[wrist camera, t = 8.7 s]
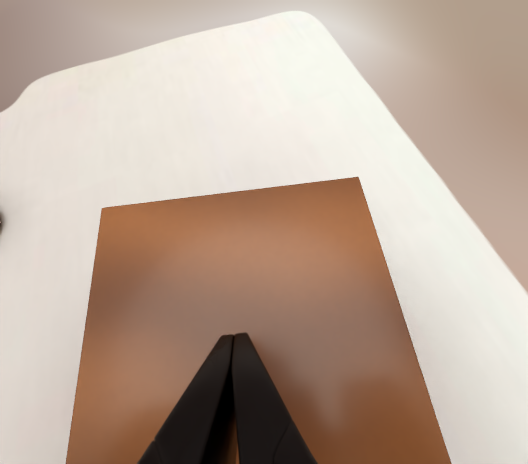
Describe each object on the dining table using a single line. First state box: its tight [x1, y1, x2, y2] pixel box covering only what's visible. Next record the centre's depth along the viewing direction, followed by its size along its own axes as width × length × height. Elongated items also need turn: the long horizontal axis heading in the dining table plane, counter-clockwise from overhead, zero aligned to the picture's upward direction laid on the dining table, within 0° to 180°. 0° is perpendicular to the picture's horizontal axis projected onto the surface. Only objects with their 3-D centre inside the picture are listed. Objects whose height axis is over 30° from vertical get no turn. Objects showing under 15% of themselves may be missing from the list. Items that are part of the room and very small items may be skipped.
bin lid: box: [66, 177, 451, 464], centre depth 12 cm, size 12×14×1 cm
